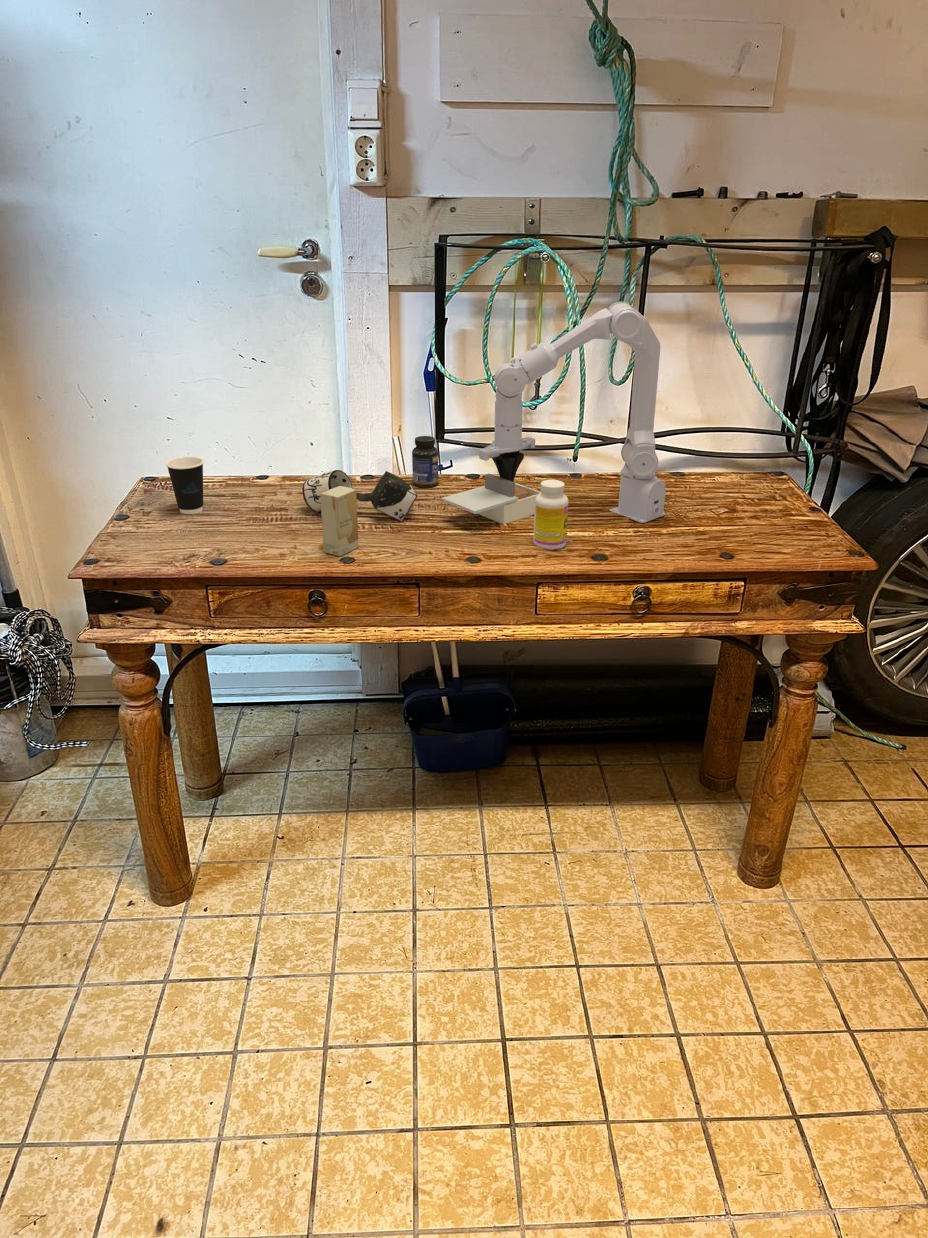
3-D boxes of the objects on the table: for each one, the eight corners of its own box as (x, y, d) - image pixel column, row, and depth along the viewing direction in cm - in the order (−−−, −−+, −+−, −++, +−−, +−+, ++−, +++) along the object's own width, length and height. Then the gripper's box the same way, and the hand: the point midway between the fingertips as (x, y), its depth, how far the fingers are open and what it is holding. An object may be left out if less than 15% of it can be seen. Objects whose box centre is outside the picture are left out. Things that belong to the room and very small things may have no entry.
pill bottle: (437, 488, 220) (437, 442, 215) (411, 488, 220) (410, 442, 215) (439, 479, 226) (438, 434, 221) (413, 479, 226) (412, 434, 221)
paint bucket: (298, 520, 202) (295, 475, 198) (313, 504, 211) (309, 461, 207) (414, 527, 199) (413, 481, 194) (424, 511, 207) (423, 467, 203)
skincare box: (340, 557, 184) (336, 497, 178) (322, 552, 186) (318, 493, 180) (360, 546, 189) (357, 488, 183) (343, 542, 191) (339, 484, 185)
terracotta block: (514, 504, 209) (515, 487, 207) (527, 509, 206) (528, 491, 205) (501, 508, 207) (502, 491, 205) (514, 513, 204) (514, 496, 202)
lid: (485, 487, 206) (485, 472, 204) (518, 500, 199) (519, 483, 197) (441, 500, 198) (441, 484, 197) (474, 513, 191) (475, 497, 190)
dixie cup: (189, 501, 212) (183, 454, 207) (217, 507, 208) (211, 459, 203) (164, 513, 205) (157, 464, 200) (193, 519, 202) (186, 469, 197)
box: (511, 501, 213) (512, 481, 210) (543, 513, 206) (544, 492, 204) (472, 513, 205) (472, 493, 203) (503, 526, 199) (504, 505, 197)
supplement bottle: (567, 551, 187) (571, 489, 181) (534, 550, 187) (536, 488, 181) (564, 538, 193) (568, 478, 187) (532, 538, 193) (534, 477, 187)
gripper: (519, 413, 203) (518, 474, 209) (469, 425, 195) (469, 488, 201) (543, 420, 199) (540, 482, 205) (493, 432, 190) (491, 497, 196)
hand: (506, 485), depth 202 cm, fingers closed
